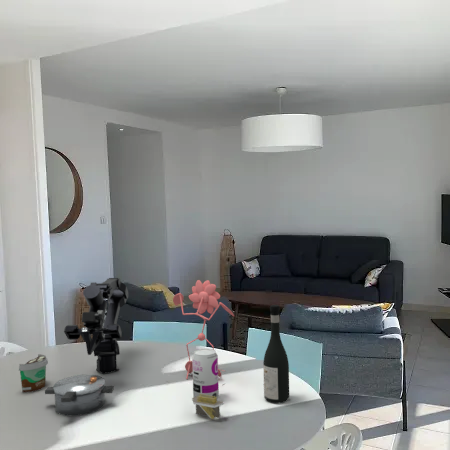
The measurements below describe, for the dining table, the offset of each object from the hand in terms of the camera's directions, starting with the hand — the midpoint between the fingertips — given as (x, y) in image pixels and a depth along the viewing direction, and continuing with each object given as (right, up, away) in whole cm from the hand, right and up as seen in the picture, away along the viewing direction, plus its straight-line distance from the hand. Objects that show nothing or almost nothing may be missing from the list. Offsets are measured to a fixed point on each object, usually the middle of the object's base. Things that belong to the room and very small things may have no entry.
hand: (89, 354), depth 169 cm
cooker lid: (0, -7, -13) cm, 15 cm away
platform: (+40, -14, -21) cm, 47 cm away
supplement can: (+40, -13, -7) cm, 42 cm away
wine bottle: (+62, -12, -9) cm, 64 cm away
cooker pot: (0, -13, -10) cm, 17 cm away
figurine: (+39, -12, +15) cm, 43 cm away
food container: (-19, -13, +7) cm, 25 cm away
